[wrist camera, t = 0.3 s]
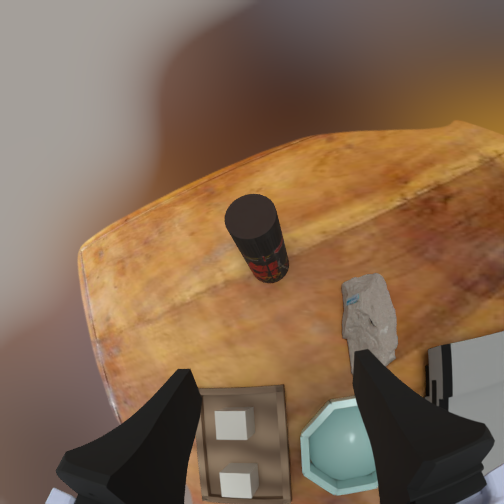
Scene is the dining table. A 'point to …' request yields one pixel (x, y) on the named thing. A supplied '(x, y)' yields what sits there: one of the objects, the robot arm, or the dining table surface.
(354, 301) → the concrete fragment
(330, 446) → the bowl
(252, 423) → the stone
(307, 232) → the dining table surface
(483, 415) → the game console
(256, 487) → the stone
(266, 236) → the deodorant
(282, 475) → the tray
